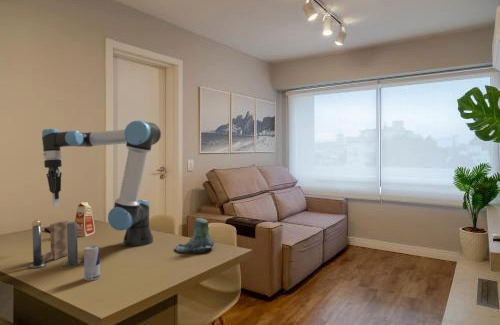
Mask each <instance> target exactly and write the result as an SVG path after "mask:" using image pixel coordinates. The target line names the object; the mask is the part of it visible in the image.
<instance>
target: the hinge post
mask: <svg viewBox="0 0 500 325" xmlns="http://www.w3.org/2000/svg"><path fill="white" fill-rule="evenodd" d="M31 227H32V228H31V229H32V255H33V256H32V261H33V262H32V264H29V266H28V268H29V269H41V268H44V267H46V266H47V263H46V262H42V255H43V254H42V229H41V228H42V222H41V220H39V219H34V220H33V221H32V222H31Z"/></svg>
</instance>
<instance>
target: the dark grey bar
mask: <svg viewBox="0 0 500 325" xmlns="http://www.w3.org/2000/svg"><path fill="white" fill-rule="evenodd" d="M67 244H68V255H67V261H66V262H65V263H63V265H62V267H63V268H64V267H65V268H66V267H67V268H68V267H79V266H80V265H81V263H83V262H84V259H80V260H79V258H78V257H79V256H78V255H79V254H78V253H79V250H78V249H79V248H78V236H77V222H75V221H71V222H70V221H69V222H68V223H67Z"/></svg>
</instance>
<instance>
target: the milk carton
mask: <svg viewBox="0 0 500 325" xmlns="http://www.w3.org/2000/svg"><path fill="white" fill-rule="evenodd" d="M79 202H80V203H79V205H77V209H76V213H75V219H74V222H77V237H88V236H91V235H93V234H95V233H96V231H95V230H96V229H95V228H96V227H95V222H94V214H93V210H92V206H91V205H89V202H84V201H79Z"/></svg>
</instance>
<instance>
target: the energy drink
mask: <svg viewBox="0 0 500 325" xmlns="http://www.w3.org/2000/svg"><path fill="white" fill-rule="evenodd" d="M100 254H101V253H100V246H99V245H88V246H86V247H84V249H83V264H84V265H83V266H84V269H83V270H84V272H83V274H84V281H87V282H92V281H96V280H98V279H99V278H101V277H100V276H101V267H100V265H101V262H100V261H101V260H100Z"/></svg>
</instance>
